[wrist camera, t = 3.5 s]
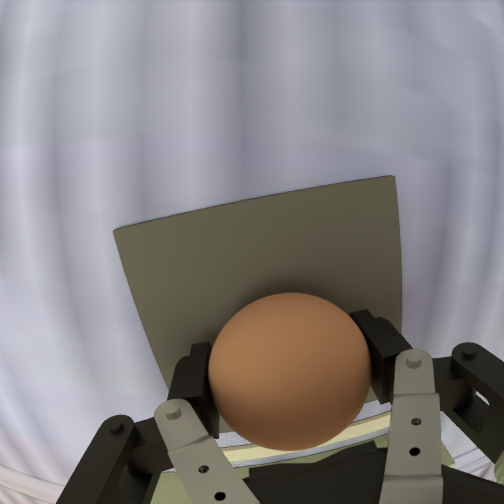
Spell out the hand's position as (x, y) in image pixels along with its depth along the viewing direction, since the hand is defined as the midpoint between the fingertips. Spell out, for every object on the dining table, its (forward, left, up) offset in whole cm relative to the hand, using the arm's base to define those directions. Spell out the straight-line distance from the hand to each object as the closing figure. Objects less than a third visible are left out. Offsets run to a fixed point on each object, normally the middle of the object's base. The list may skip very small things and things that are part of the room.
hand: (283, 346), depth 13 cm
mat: (0, 0, -2) cm, 2 cm away
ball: (0, 0, -1) cm, 1 cm away
